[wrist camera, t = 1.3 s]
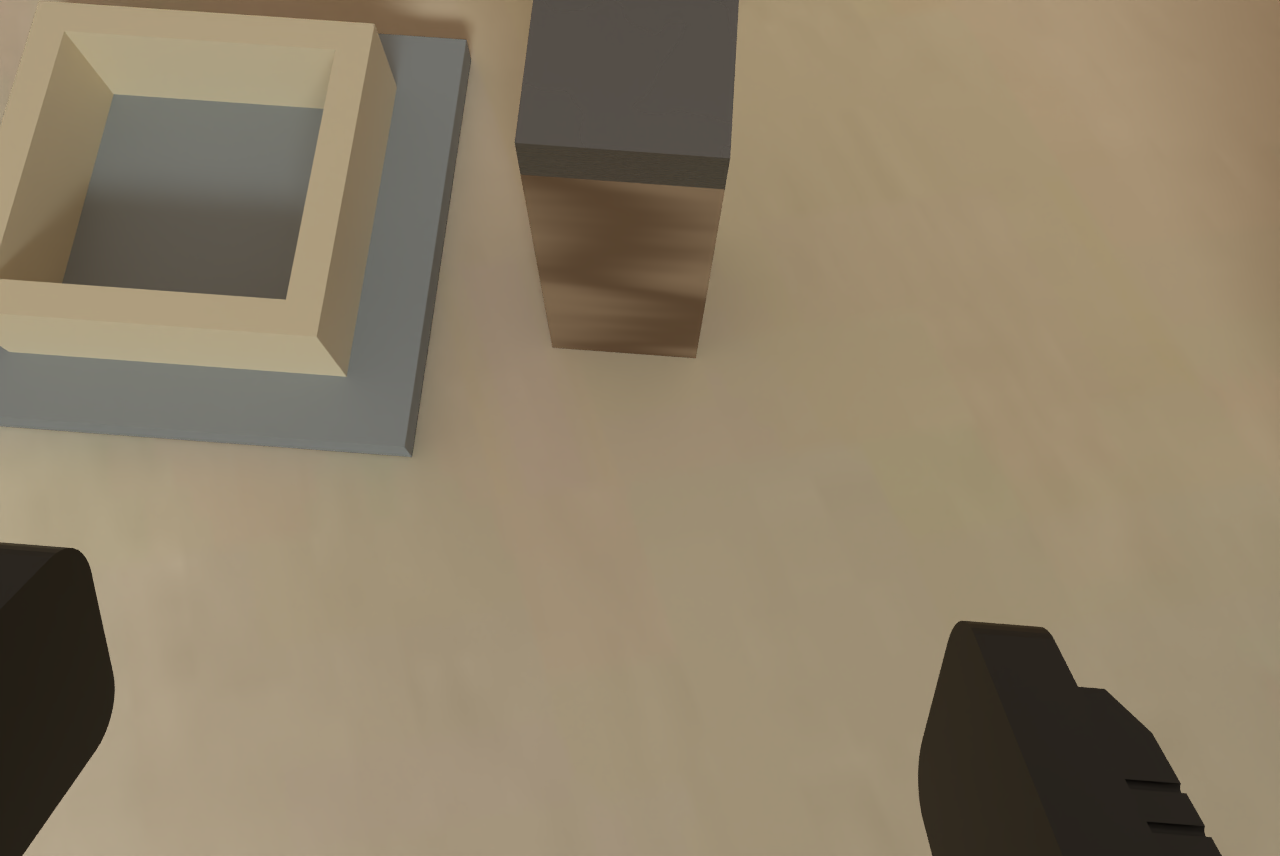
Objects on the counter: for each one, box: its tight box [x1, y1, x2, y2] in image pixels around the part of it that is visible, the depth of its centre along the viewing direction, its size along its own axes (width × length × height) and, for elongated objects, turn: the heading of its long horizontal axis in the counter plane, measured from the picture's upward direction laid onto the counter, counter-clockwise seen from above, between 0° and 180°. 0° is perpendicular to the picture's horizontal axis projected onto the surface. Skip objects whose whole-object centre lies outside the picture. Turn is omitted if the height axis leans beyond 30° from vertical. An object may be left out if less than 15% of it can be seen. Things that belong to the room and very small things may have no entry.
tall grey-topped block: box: [515, 0, 739, 358], centre depth 27 cm, size 4×4×11 cm
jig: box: [0, 1, 471, 457], centre depth 30 cm, size 14×14×4 cm
